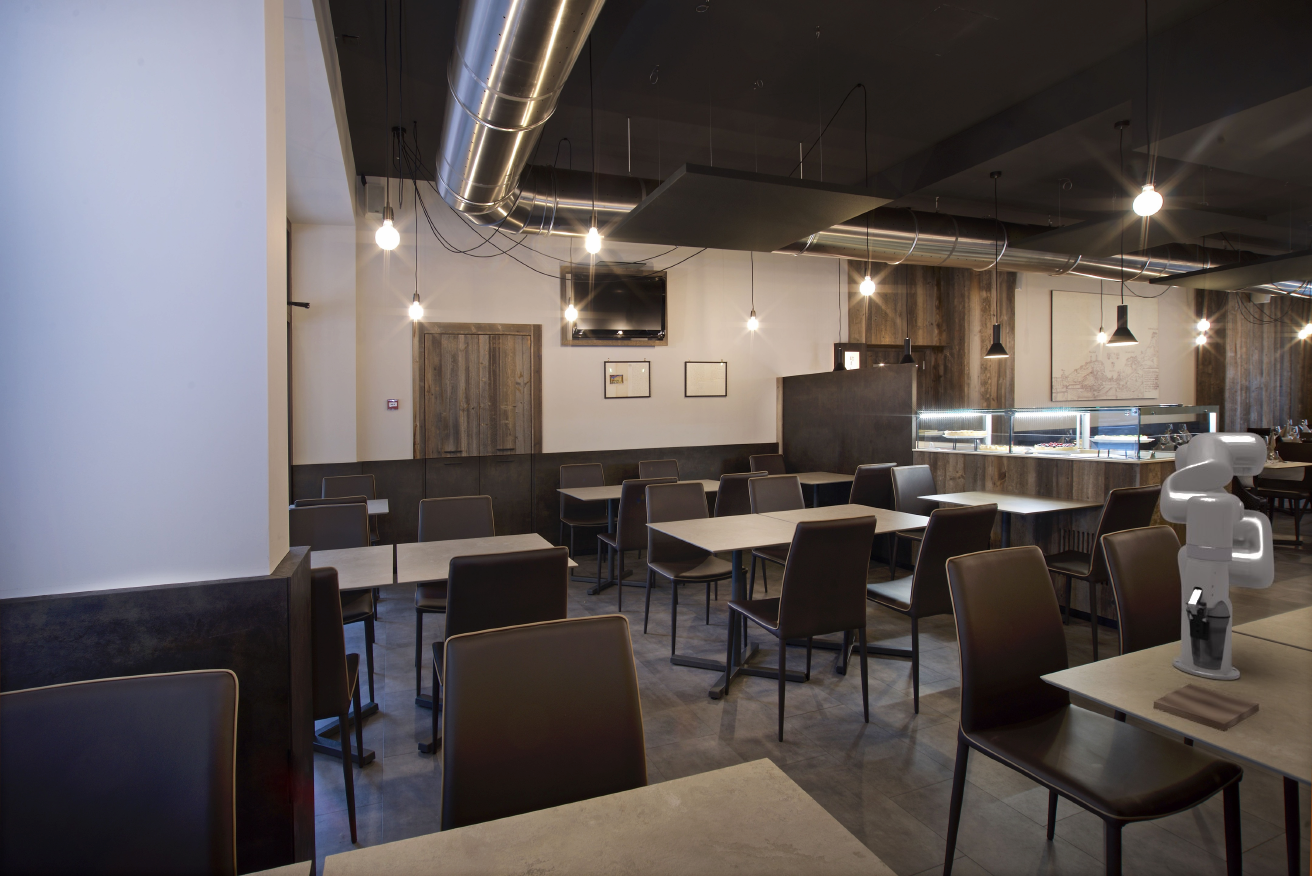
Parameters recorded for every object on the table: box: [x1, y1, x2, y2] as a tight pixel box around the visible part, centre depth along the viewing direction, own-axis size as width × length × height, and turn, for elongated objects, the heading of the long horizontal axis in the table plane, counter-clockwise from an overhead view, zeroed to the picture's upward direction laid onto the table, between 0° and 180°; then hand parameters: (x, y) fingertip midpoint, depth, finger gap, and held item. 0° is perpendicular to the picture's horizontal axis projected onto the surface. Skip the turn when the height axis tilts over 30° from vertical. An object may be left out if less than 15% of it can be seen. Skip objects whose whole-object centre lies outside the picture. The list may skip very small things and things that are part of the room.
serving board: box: [1153, 683, 1260, 732], centre depth 137 cm, size 18×12×2 cm, turn 120°
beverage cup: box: [1186, 601, 1230, 670], centre depth 136 cm, size 7×7×20 cm
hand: (1207, 635), depth 136 cm, fingers closed on beverage cup, 6 cm apart
